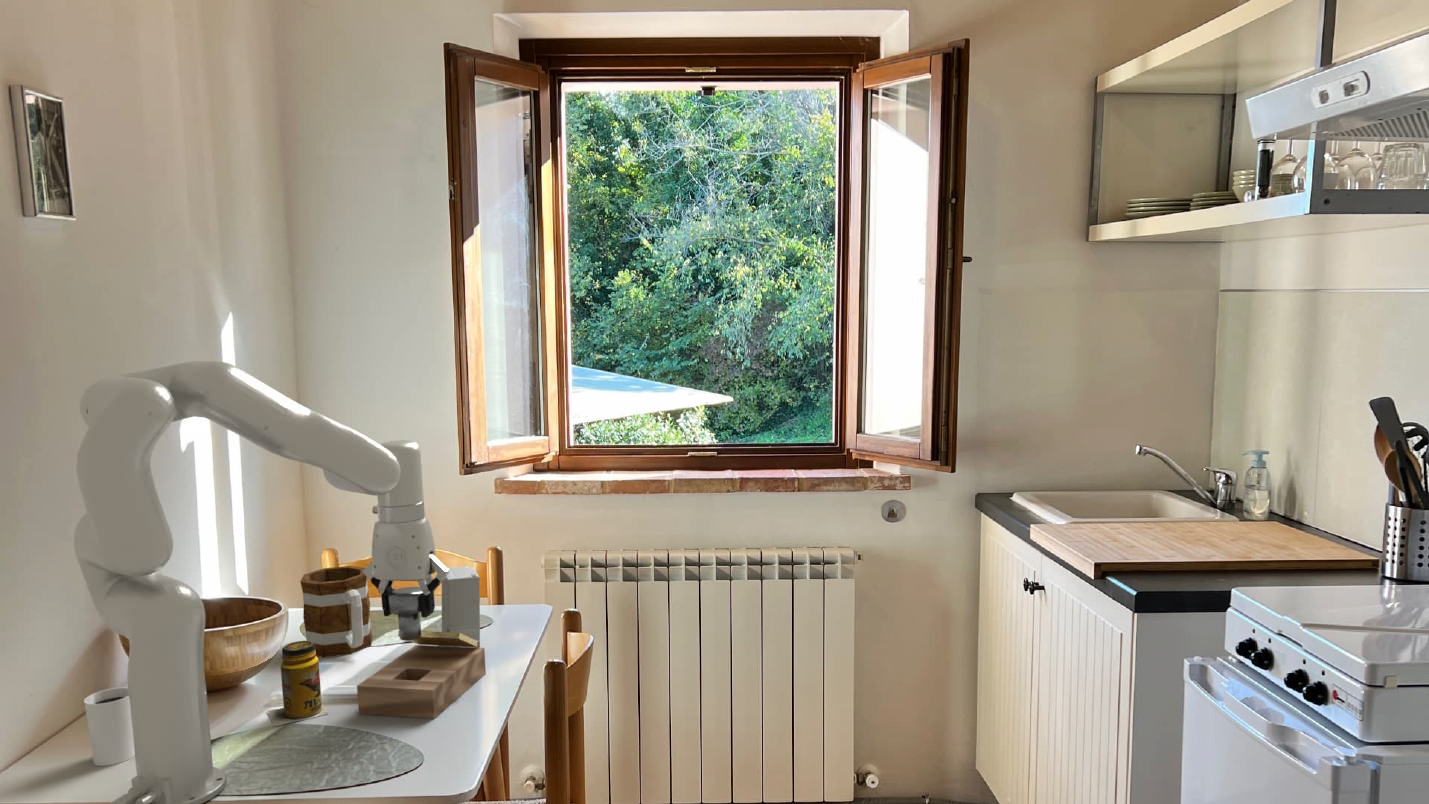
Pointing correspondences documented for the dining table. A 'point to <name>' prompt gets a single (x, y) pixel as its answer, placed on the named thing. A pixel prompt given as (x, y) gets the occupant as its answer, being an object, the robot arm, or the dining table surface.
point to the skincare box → (461, 602)
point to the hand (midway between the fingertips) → (408, 613)
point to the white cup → (110, 726)
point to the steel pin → (407, 611)
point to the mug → (337, 610)
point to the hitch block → (421, 681)
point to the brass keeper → (445, 639)
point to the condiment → (299, 684)
